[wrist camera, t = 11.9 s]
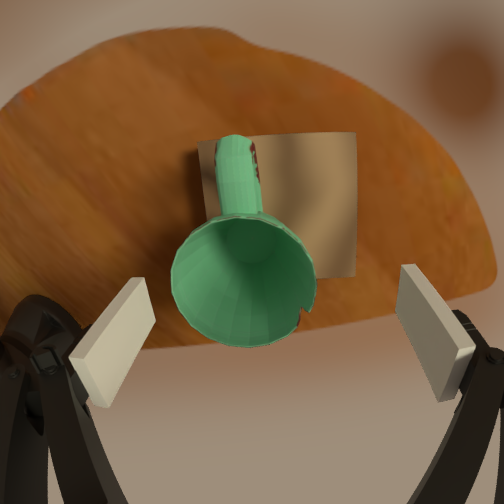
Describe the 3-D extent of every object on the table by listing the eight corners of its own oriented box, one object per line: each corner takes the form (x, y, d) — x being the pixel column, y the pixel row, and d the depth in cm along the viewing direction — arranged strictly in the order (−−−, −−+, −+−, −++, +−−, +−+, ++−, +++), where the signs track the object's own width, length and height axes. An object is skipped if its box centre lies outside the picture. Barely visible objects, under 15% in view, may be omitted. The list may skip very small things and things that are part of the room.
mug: (305, 283, 32) (316, 345, 22) (207, 287, 32) (183, 348, 23) (298, 130, 26) (312, 129, 17) (188, 140, 27) (147, 146, 18)
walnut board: (221, 269, 35) (216, 282, 33) (205, 139, 30) (197, 142, 27) (349, 263, 34) (355, 276, 31) (349, 131, 28) (355, 132, 26)
